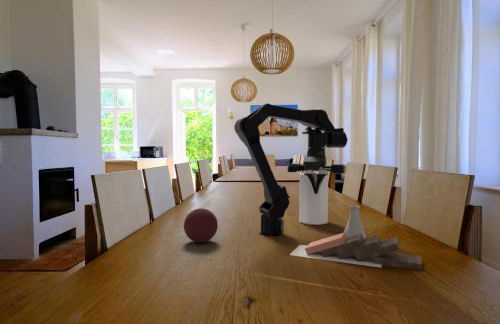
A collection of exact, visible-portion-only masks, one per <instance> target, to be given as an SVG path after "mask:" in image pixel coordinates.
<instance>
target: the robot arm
mask: <svg viewBox="0 0 500 324" xmlns="http://www.w3.org/2000/svg"><path fill="white" fill-rule="evenodd" d="M268 118H270V119H276V120H283V121H290V122H295V123H297V124H301V125H303V126H304V127H306V128H305V129H304V130H303V131H302V133H301V134H302V135H307V152H306V156H305V158H304V159H303V163H288V166H287V173H297V172H302V171H303V173H304V175H307V176H308V178H309V180H310V182H311V184H312V187H313V190H314V193H315V194H318V191H319V189H320V186H321V183H322V181H323V179H324V177H325V176H326V175H328V176H329V172H331V173H333V174H339V175H340V174H341V175H342V174H346V173H347V168H346V167H347V165H345V164H343V163H342V164H341V163H337V164H336V163H335V164H331V165H327V156H326V148H328V149H329V148H330V149H342V148H343V149H344V148H345V147H346V146H347V144H348V137H347V134H346V132H345V129H344V128H343V127H339V128H336V127H335V126H334V125H333V123H332V122H331V121H332V120H330V118H329V115H328V113H327V111H326V110H324V109H297V108H292V107H286V106H280V105H274V104H270V103H263V104H262V105H260V106H259V107H258V108H256V109H255V110H253V111H252V112H251V113H250V114H247V116H245V117H241V118H239V119H237V120H236V121H235V123H234V127H233V128H234V132H235V134H236V135H237V137H238V138H239V139H240V141H241V142H242V143H243V144H244V146H246V148H247V151H248V153H249V156H250V158H251V160H252V163H253V165H254V167H255V170H256V172H257V175H258V178H259V179H260V181H261V183H262V187H263V196H264V202H262V203H261V204H260V206H259V207H258V211H259V213H260V232H259V233H258V235H260V236H269V237H279V236H281V235H283V234H284V232H285V231H284V228H285V227H284V225H285V221H284V219H283V218H284V216H285V213H286V210H287V209H288V208H289V207H290V206H289V205H290V198H291V196H290V195H289V194H288V191H287V187H286V185H281V184H279V183H278V182H277V180H276V178H275V176H274V173H273V170H272V167H271V166H270V163H269V161H268V159H267V156H266V152H265V151H264V148H263V146H262V144H261V143H262V142H261V134H260V133H261V132H260V129H259V126H261V125H262V124H263V123H264V122H265V121H266V120H267V119H268ZM316 173H319V174H317V182H316Z"/></svg>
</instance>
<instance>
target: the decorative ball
mask: <svg viewBox="0 0 500 324" xmlns="http://www.w3.org/2000/svg"><path fill="white" fill-rule="evenodd" d="M218 226H219V225H218V220H217V217H216V215H215V214H214V213H213V211H211V210H209V209H207V208H202V207H199V208H195V209H192V211H190V212H189V213H188V214H187V215H186V217H185V219H184V222H183V231H184V233H185V235H186V237H187V238H188V239H189V240H191V242H195V243H199V244H202V243H206V242H209V241H210V240H212V239H213V238H214V236H215V235H216V234H217V231H218V228H219V227H218Z"/></svg>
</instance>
